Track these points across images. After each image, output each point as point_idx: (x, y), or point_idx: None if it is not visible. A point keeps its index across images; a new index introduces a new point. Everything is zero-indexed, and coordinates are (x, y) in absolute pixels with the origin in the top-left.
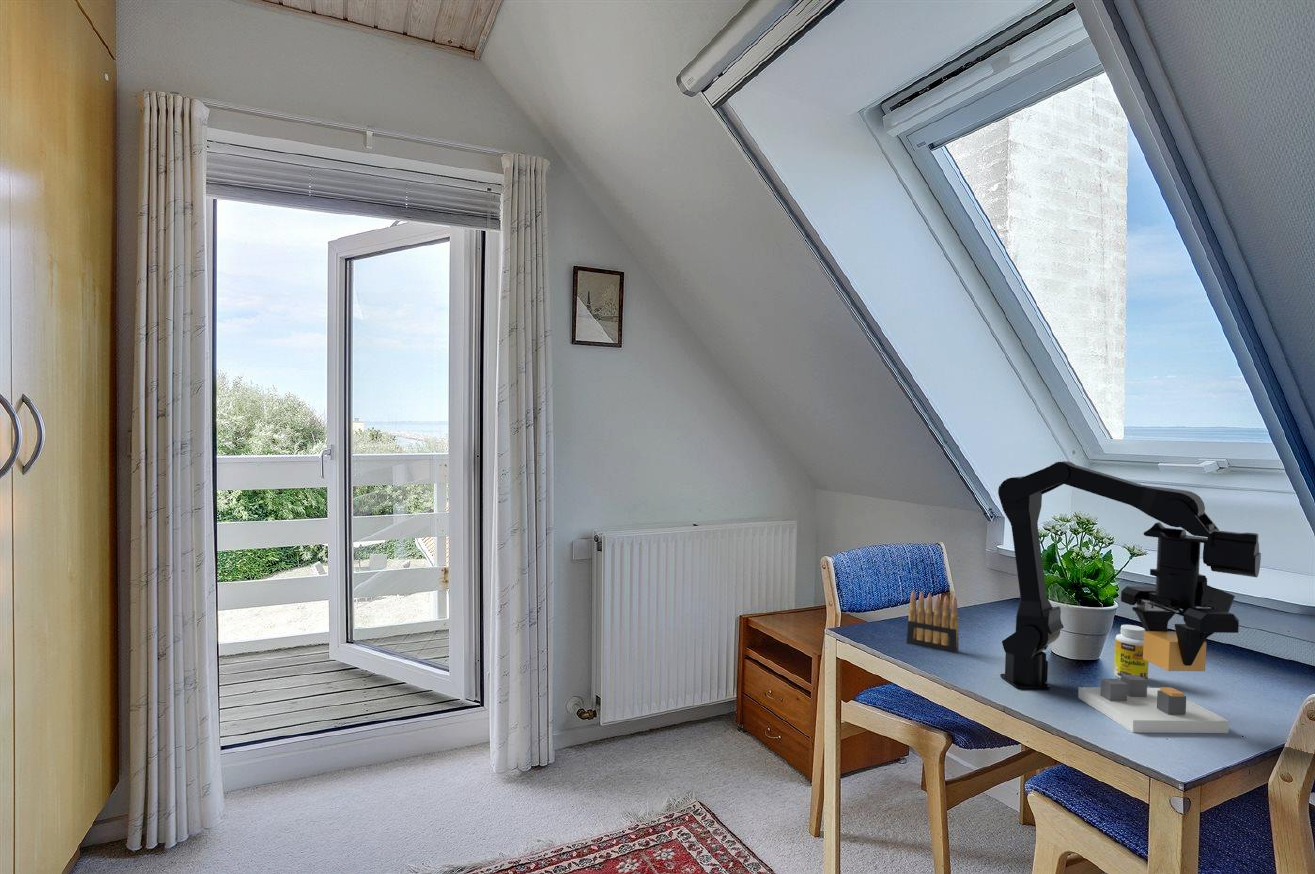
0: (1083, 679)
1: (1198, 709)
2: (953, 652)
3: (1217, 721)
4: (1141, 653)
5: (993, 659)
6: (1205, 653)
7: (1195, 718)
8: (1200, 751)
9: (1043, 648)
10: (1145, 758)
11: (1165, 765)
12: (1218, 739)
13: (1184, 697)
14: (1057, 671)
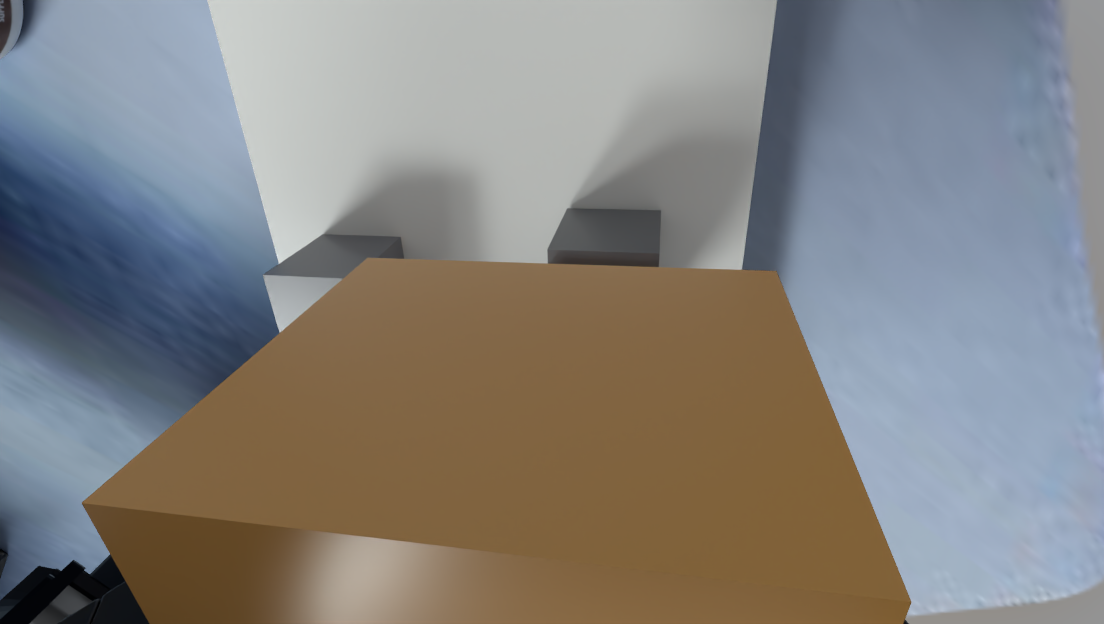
0: (98, 266)
1: (574, 42)
2: (6, 558)
3: (766, 61)
4: None
5: (10, 477)
6: (829, 412)
7: (717, 190)
8: (939, 337)
9: (101, 597)
10: (931, 575)
11: (1005, 556)
12: (836, 121)
13: (658, 263)
14: (36, 319)
